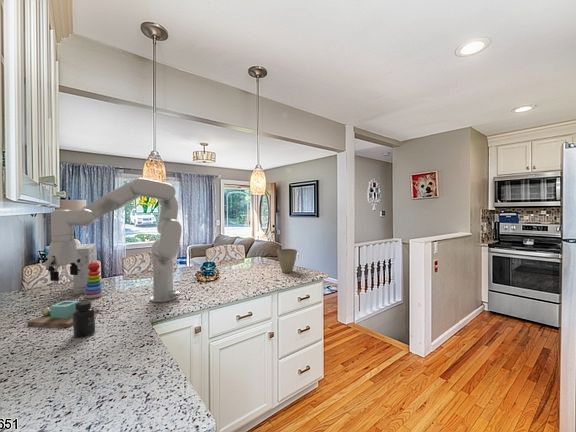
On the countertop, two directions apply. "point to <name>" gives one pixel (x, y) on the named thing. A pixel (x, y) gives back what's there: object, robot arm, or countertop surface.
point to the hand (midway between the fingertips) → (64, 277)
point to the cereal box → (84, 266)
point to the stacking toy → (93, 282)
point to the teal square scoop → (62, 309)
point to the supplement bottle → (83, 319)
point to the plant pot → (287, 259)
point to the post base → (54, 321)
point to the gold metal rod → (46, 312)
